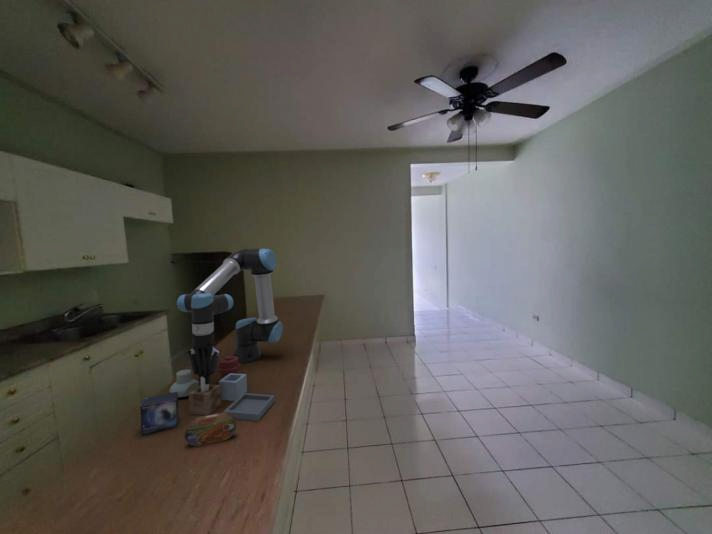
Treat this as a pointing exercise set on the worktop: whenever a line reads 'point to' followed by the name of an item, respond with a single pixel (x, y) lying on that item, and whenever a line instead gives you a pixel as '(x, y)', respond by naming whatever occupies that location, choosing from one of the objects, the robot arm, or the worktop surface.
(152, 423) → the small box
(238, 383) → the block
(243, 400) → the tray
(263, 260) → the robot arm
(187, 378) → the air freshener
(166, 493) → the worktop surface
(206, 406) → the brown open cube box
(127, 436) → the worktop surface
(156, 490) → the worktop surface
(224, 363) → the mechanical component
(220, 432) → the tin
